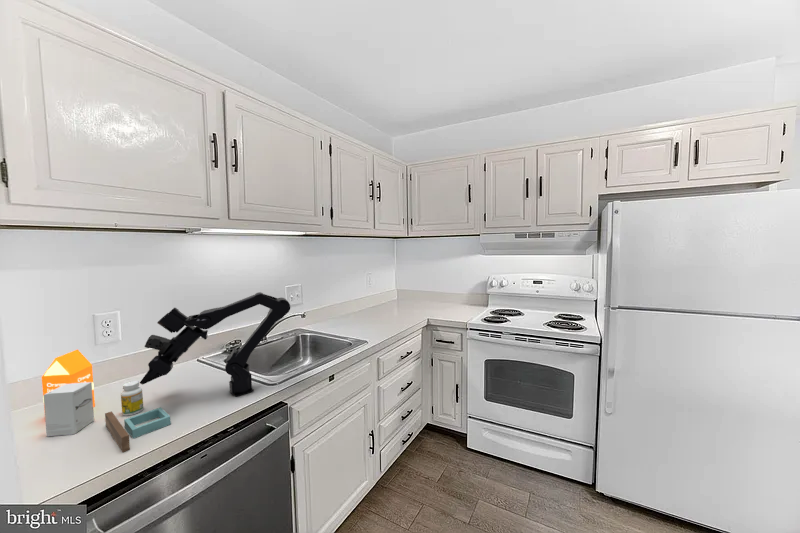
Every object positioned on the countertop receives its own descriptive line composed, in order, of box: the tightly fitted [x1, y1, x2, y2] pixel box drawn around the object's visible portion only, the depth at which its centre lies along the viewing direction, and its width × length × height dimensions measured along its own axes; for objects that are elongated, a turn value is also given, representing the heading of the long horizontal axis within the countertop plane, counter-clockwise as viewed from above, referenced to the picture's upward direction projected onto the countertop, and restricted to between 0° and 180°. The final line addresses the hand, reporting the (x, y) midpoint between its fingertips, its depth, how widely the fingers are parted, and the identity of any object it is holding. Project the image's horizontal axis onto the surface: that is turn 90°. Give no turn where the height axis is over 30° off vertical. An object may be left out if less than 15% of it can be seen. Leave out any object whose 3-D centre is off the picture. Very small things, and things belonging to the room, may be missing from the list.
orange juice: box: [41, 349, 96, 413], centre depth 102 cm, size 8×9×20 cm
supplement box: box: [43, 382, 95, 437], centre depth 94 cm, size 7×7×13 cm
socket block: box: [123, 406, 172, 439], centre depth 95 cm, size 9×9×2 cm
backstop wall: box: [104, 411, 131, 453], centre depth 90 cm, size 2×20×4 cm, turn 52°
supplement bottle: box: [120, 380, 144, 417], centre depth 103 cm, size 5×5×10 cm
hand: (145, 378), depth 105 cm, fingers open, 9 cm apart
